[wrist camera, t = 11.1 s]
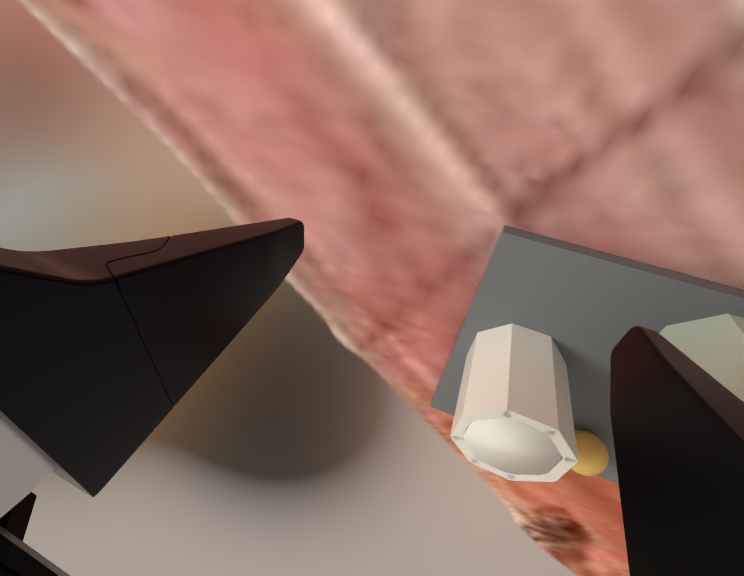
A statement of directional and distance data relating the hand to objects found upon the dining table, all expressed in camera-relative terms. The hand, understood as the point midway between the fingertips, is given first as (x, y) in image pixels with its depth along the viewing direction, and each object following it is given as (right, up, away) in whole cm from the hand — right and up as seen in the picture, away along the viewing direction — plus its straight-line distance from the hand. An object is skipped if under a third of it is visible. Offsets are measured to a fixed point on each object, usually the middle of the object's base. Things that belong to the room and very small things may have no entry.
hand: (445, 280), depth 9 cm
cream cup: (+8, -5, +14) cm, 17 cm away
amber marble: (+13, -12, +15) cm, 23 cm away
